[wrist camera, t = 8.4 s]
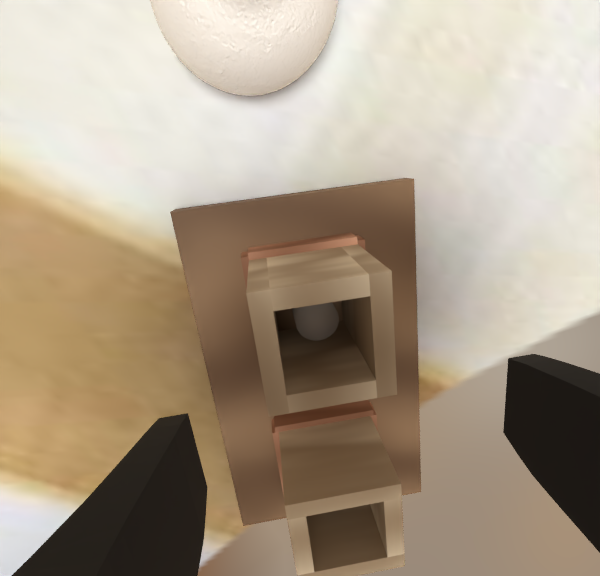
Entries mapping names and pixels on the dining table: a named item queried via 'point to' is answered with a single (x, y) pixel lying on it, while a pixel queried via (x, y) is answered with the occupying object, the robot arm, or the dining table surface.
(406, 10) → the dining table surface
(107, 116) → the dining table surface
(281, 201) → the pin board
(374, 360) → the banded sleeve
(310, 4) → the garlic bulb
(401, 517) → the seated sleeve
